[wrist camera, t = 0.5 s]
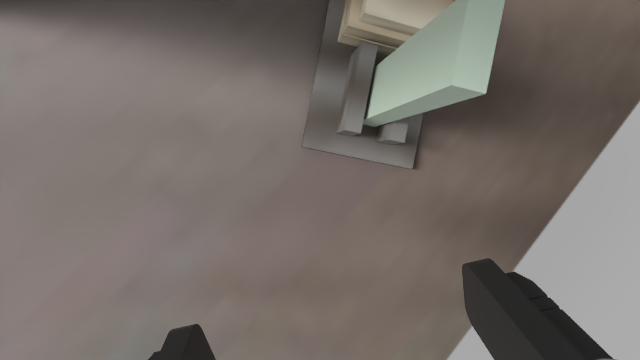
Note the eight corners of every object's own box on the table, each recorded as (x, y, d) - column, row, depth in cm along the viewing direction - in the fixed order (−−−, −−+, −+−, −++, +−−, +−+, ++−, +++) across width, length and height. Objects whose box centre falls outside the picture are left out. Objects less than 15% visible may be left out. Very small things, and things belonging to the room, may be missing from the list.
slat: (374, 126, 36) (486, 93, 18) (356, 122, 35) (451, 85, 18) (383, 79, 36) (505, -2, 18) (365, 74, 35) (471, -13, 17)
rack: (408, 168, 38) (440, 170, 31) (301, 146, 36) (310, 143, 29) (440, 5, 37) (480, -29, 30) (334, -27, 35) (351, -71, 28)
